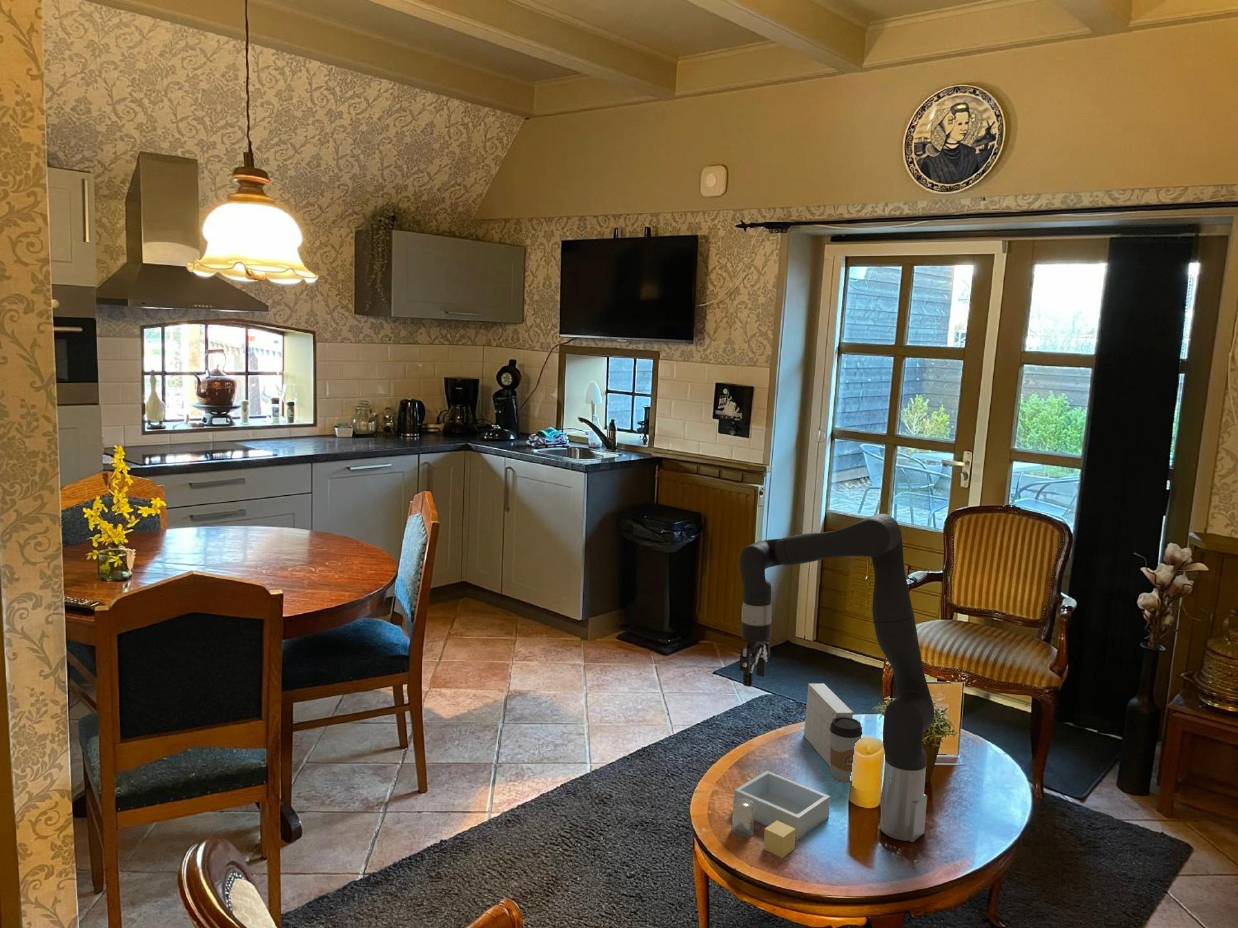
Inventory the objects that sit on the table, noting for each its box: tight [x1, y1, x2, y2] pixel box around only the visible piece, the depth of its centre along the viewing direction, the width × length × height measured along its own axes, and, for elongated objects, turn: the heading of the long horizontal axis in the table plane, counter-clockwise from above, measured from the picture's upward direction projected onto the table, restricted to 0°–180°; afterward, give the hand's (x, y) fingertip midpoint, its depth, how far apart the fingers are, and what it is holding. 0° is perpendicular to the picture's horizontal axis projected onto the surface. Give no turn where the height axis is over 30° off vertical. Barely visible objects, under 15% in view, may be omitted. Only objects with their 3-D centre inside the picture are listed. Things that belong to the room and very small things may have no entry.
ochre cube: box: [763, 821, 796, 859], centre depth 209 cm, size 5×5×5 cm
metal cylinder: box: [731, 798, 755, 839], centre depth 216 cm, size 5×5×7 cm
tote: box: [733, 770, 831, 841], centre depth 224 cm, size 18×14×6 cm
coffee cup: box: [830, 717, 863, 783], centre depth 243 cm, size 8×8×15 cm
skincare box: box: [803, 682, 854, 768], centre depth 258 cm, size 21×5×16 cm, turn 9°
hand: (754, 680), depth 238 cm, fingers open, 8 cm apart
